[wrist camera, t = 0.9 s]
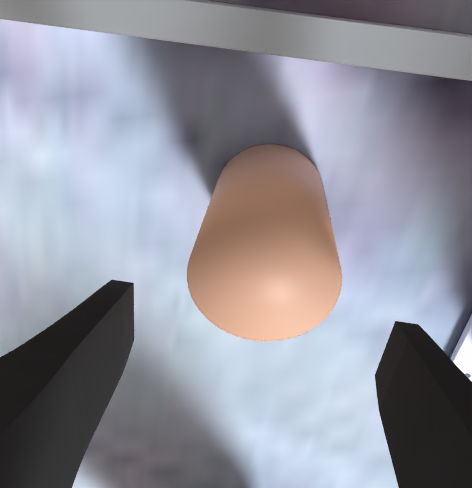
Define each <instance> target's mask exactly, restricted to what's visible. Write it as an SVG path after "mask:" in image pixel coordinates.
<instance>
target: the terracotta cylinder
mask: <svg viewBox="0 0 472 488" xmlns="http://www.w3.org/2000/svg"><path fill="white" fill-rule="evenodd" d="M187 282H188V288H189V291H190V294H191V297H192V299H193V301H194V303H195V304H196V306H197V307H198V309H199V310H200V311H201V313H202V314H203V315H204V316H205V317H206V318H207V319H208V320H209V321H210V322H212V323H213V324H214V325H216V326H217V327H219V328H220V329H222V330H224V331H226V332H228V333H230V334H232V335H235V336H238V337H241V338H244V339H249V340H255V341H279V340H285V339H290V338H293V337H296V336H299V335H301V334H303V333H306V332H308V331H309V330H311V329H313V328H314V327H316V326H317V325H318V324H320V323H321V322H322V321H323V320H324V319H325V318H326V317H327V316H328V315H329V314H330V312H331V311H332V310H333V308H334V306H335V304H336V303H337V300H338V298H339V295H340V291H341V286H342V273H341V266H340V262H339V257H338V252H337V247H336V243H335V238H334V233H333V229H332V224H331V219H330V215H329V210H328V205H327V200H326V196H325V191H324V186H323V182H322V179H321V176H320V174H319V172H318V170H317V169H316V167H315V166H314V164H313V163H312V162H311V161H310V160H309V159H308V158H307V157H306V156H304V155H303V154H302V153H300V152H299V151H297V150H295V149H293V148H290V147H287V146H283V145H278V144H262V145H256V146H253V147H250V148H247V149H245V150H243V151H241V152H240V153H238V154H237V155H235V156H234V157H233V158H232V159H231V160H230V161H229V162H228V163H227V164H226V165H225V167H224V168H223V170H222V172H221V174H220V176H219V178H218V181H217V184H216V186H215V189H214V192H213V195H212V198H211V200H210V203H209V206H208V209H207V211H206V214H205V217H204V220H203V222H202V225H201V228H200V231H199V233H198V236H197V239H196V242H195V244H194V247H193V250H192V253H191V256H190V259H189V262H188V268H187Z"/></svg>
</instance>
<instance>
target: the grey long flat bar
mask: <svg viewBox="0 0 472 488" xmlns="http://www.w3.org/2000/svg"><path fill="white" fill-rule="evenodd" d="M0 19H5V20H12V21H20V22H28V23H35V24H43V25H50V26H58V27H66V28H73V29H81V30H88V31H96V32H104V33H111V34H119V35H126V36H134V37H142V38H149V39H157V40H164V41H172V42H180V43H187V44H195V45H202V46H210V47H218V48H225V49H233V50H240V51H248V52H256V53H263V54H271V55H278V56H286V57H294V58H301V59H309V60H316V61H324V62H332V63H339V64H347V65H354V66H362V67H370V68H377V69H385V70H392V71H400V72H408V73H415V74H423V75H430V76H438V77H446V78H453V79H461V80H468V81H472V35H470V34H462V33H455V32H447V31H439V30H431V29H423V28H416V27H408V26H400V25H392V24H385V23H377V22H369V21H361V20H354V19H346V18H338V17H330V16H322V15H315V14H307V13H299V12H291V11H284V10H276V9H268V8H260V7H253V6H245V5H237V4H229V3H221V2H214V1H206V0H0Z"/></svg>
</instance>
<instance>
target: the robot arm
mask: <svg viewBox="0 0 472 488" xmlns="http://www.w3.org/2000/svg"><path fill="white" fill-rule="evenodd" d="M133 341H134V283H130V282H123V281H116V280H111V281H110V282H108V283H107V284H106V285H104V286H103V287H102V288H100V289H99V290H98V291H96V292H95V293H94V294H93V295H91V296H90V297H89V298H87V299H86V300H85V301H84V302H82V303H81V304H80V305H78V306H77V307H76V308H74V309H73V310H72V311H70V312H69V313H68V314H66V315H65V316H64V317H62V318H61V319H59V320H58V321H57V322H55V323H54V324H53V325H51V326H50V327H48V328H47V329H45V330H44V331H42V332H41V333H39V334H38V335H36V336H35V337H33V338H32V339H30V340H29V341H27V342H26V343H24V344H23V345H21V346H19V347H18V348H16V349H14V350H13V351H11V352H9V353H7V354H6V355H4V356H2V357H0V488H72V486H73V483H74V480H75V477H76V475H77V472H78V469H79V466H80V464H81V461H82V459H83V456H84V454H85V452H86V449H87V447H88V445H89V443H90V440H91V438H92V436H93V434H94V432H95V430H96V428H97V426H98V424H99V422H100V420H101V418H102V416H103V413H104V411H105V409H106V407H107V405H108V403H109V401H110V399H111V397H112V395H113V393H114V390H115V388H116V386H117V384H118V382H119V380H120V378H121V376H122V373H123V371H124V368H125V365H126V362H127V359H128V356H129V353H130V350H131V347H132V344H133ZM464 373H466V374H464ZM375 380H376V389H377V398H378V405H379V412H380V416H381V420H382V424H383V428H384V432H385V436H386V440H387V444H388V448H389V451H390V455H391V459H392V463H393V467H394V471H395V474H396V478H397V482H398V486H399V488H472V315H471V317H470V319H469V321H468V323H467V325H466V327H465V329H464V331H463V333H462V335H461V337H460V339H459V341H458V343H457V345H456V347H455V349H454V352H453V354H452V356H451V358H449V357H448V356H447V355H446V354H445V353H444V351H443V350H442V349H441V348H440V347H439V346H438V345H437V344H436V343H435V342H434V341H433V339H432V338H431V337H430V336H429V335H428V334H427V333H426V332H425V331H424V330H423V329H422V328H421V327H420V326H419V325H418V324H411V323H404V322H398V321H395V324H394V326H393V329H392V332H391V334H390V337H389V340H388V342H387V345H386V347H385V350H384V353H383V355H382V358H381V361H380V363H379V366H378V369H377V371H376V374H375Z"/></svg>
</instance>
